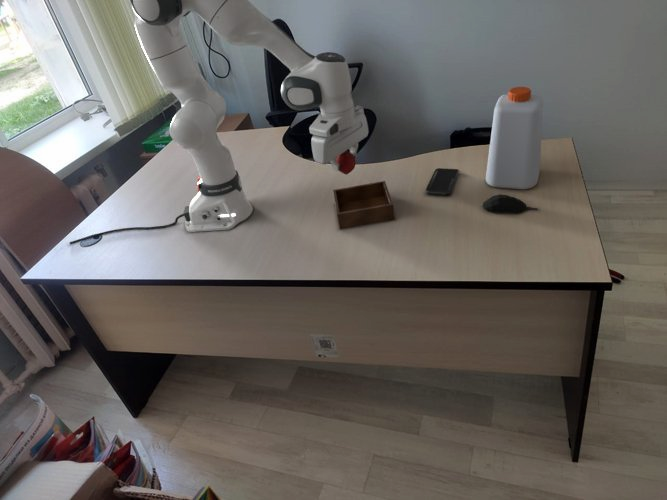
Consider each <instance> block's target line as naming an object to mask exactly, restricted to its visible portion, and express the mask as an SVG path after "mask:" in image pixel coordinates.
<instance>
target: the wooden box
mask: <svg viewBox="0 0 667 500" xmlns="http://www.w3.org/2000/svg"><path fill="white" fill-rule="evenodd" d="M332 192H333V197H334V198H333V199H334V204H335V211H336V217H337V223H338V228H339V230H345V229H349V228H355V227H357V228H358V227H362V226H368V225H373V224H378V223H385V222H391V221H395V219H396V218H395V209H394V203H393V199H392V197H391V194H390V190H389V189H388V186H387V183H386V181H385V180H382V181H381V180H380V181H376V182H369V183H364V184H359V185H354V186H347V187H341V188H336V189H335V188H334V189H332Z"/></svg>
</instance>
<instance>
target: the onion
mask: <svg viewBox="0 0 667 500" xmlns="http://www.w3.org/2000/svg"><path fill="white" fill-rule="evenodd" d="M336 162H337V163H340V164H341V166H340V167H341V169H340V170H338V171H337V172H340V173H342V174H344V175H347V176H348V175H349V174H350V173H351V172H352V171H353V170H354V169H355V167H356V162H357V161H356V158H354V156H353V155H352V154H351V153H350V151H348V150H346V151H345V152H343V153H342V154H341V155H339V156H338V157H337V160H336Z"/></svg>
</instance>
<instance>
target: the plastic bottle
mask: <svg viewBox="0 0 667 500" xmlns="http://www.w3.org/2000/svg"><path fill="white" fill-rule="evenodd" d="M543 104H544V100H543V97H542V96H541V95H540V94H537V93H532V89H531V88H529V87H527V86H516V87H512V88H510V89H509V90H508V92H507V93H504V94H502V95H500V96H499V98H498V100H497V102H496V104H495V106H494V110H493V118H492V124H491V132H490V133H491V134H490V140H489V148H488V156H487V165H486V173H485V182H486V184H488V185H489V186H491V187H492V188H498V189H509V190H510V189H511V190H529V189H532V188H534V187H536V185H537V184H538V181H539V177H540V173H541V158H542V157H541V154H542V133H543V131H542V130H543V129H542V128H543V107H544V106H543Z"/></svg>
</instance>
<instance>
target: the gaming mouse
mask: <svg viewBox="0 0 667 500" xmlns="http://www.w3.org/2000/svg"><path fill="white" fill-rule="evenodd" d="M482 208H483V209H484V210H485V211H486V212H490V213H493V214H520V213H523V212H525V210H535V211H537V210H538V208H536V207H531V206H527V204H526V203H525V202H524V201H522V199H519V198H516V197H515V196H511V195H508V194H502V193H501V194H494V195H492V196H490V197H489V198H487V199H486V200H485V201H483V202H482Z"/></svg>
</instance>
